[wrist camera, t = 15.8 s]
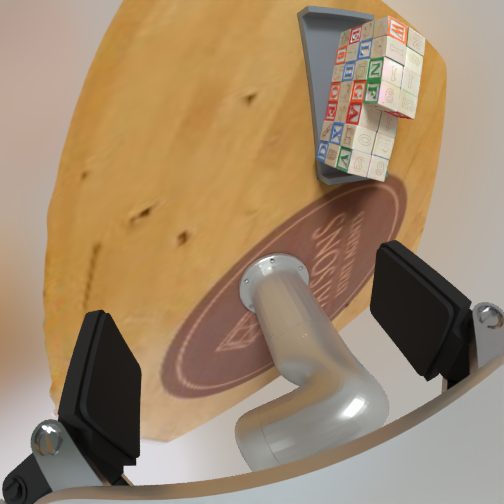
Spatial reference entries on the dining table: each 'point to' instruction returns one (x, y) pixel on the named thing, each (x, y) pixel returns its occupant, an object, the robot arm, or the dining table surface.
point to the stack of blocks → (370, 96)
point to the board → (325, 70)
